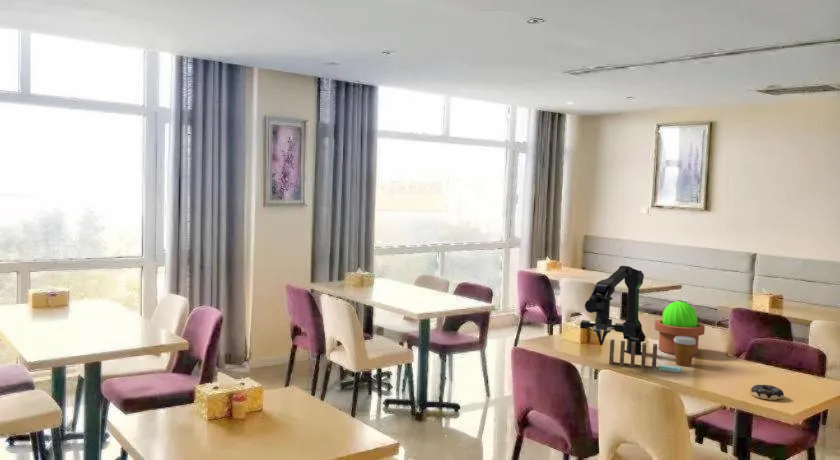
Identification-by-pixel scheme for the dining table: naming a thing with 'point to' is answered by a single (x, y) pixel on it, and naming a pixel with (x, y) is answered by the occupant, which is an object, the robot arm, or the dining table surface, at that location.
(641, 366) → the domino
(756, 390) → the donut
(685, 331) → the potted cactus
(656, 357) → the domino
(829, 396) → the dining table surface
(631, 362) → the domino
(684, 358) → the disposable coffee cup
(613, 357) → the domino
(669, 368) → the mat
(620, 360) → the domino
